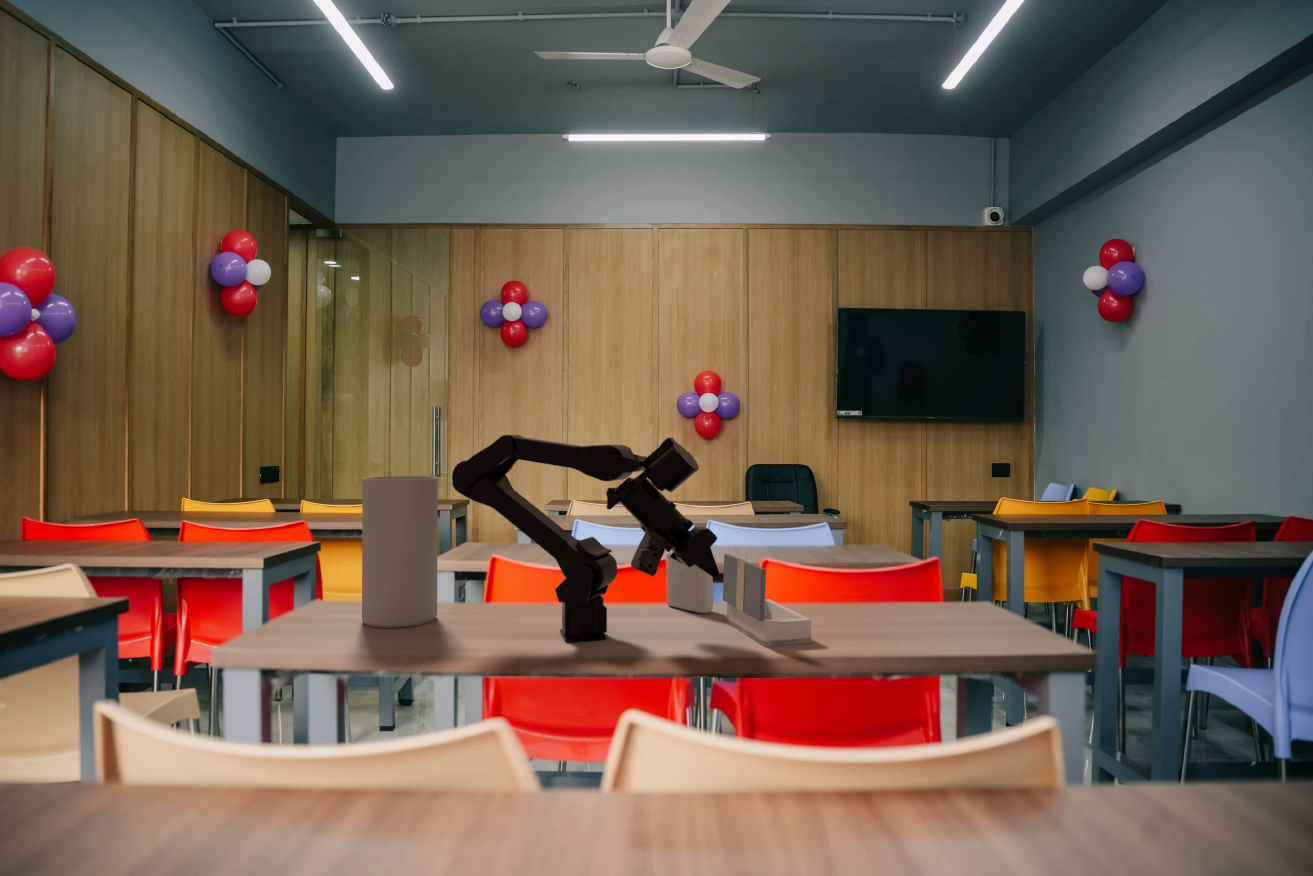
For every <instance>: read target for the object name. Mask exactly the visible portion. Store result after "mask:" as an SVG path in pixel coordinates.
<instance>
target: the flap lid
mask: <svg viewBox="0 0 1313 876" xmlns="http://www.w3.org/2000/svg"><path fill="white" fill-rule="evenodd" d="M766 576H767V569H766V568H764V567H762V566H760V565H757V564H754V563H752V562H749V561H747V560H744V559H742V558H739V557H737V556H735V555H732V554H729V553H724V557H723V580H722V581H723V582H722V583H723V585H722V601H723V602H725V603H726V604H727V603H729V604H730V605H732V606H734V607H736V608H737V609H738V610H740V611H742V612H744V613H746V614H748V615H750V616H751V617H753V618H755V619H756V620H758V621H764V612H765V600H766V581H767V580H766Z"/></svg>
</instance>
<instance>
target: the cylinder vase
mask: <svg viewBox="0 0 1313 876" xmlns="http://www.w3.org/2000/svg"><path fill="white" fill-rule="evenodd" d="M438 486H439V477H437V476H428V475H427V476H425V475H424V476H423V475H421V476H420V475H398V476H397V475H396V476H395V475H393V476H388V475H387V476H371V477H370V476H369V477H362V496H361V497H362V506H361V508H362V510H361V511H362V514H361V515H362V517H361V519H362V521H361V522H362V524H361V526H362V527H361V528H362V530H361V531H362V533H361V534H362V535H361V536H362V537H361V539H362V540H361V541H362V542H361V545H362V546H361V547H362V548H361V551H362V552H361V555H362V556H361V571H362V573H361V620H362V622H363V623H364V624H365V625H367V626H369V627H373V628H381V629H382V628H383V629H396V628H397V629H399V628H409V627H410V628H411V627H416V626H420V625H424V624H427V623H430V622H431V621H433V620H435V619H436V617H437V615H438V544H439V543H438V541H439V540H438V538H439V537H438V535H439V533H438V529H439V528H438V527H439V526H438V519H439V517H438V513H439V511H438V507H439V506H438V505H439V503H438V502H439V501H438V500H439V497H438V495H439V492H438V489H439V487H438Z"/></svg>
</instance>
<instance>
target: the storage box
mask: <svg viewBox="0 0 1313 876" xmlns="http://www.w3.org/2000/svg"><path fill="white" fill-rule="evenodd" d="M726 623H727V624H729V625H730V626H732V627H734V628H735V629H736V630H738V631H740V632H741V633H743V634H744V635H746V636H747V637H749V638H750V639H752V640H753V641H755V642H756V643H758V644H760V645H762V646H763V647H773V646H786V645H796V644H797V645H798V644H799V645H800V644H811V643H812V619H810V618H809V617H806V616H804V615H802V614H800V613H798V612H797V611H794V610H792V609H790V608H788V607H786V606H784V605H782V604H779V603H778V602H776V601H774V600H772V599H768V598H767V599H766V598H765V612H764V621H758V620H756V619H755V618H753V617H751V616H750V615H748V614H746V613H744V612H742V611H740V610H738V609H737V608H736V607H734V606H732V605H730V604H729V603H727V602H726Z"/></svg>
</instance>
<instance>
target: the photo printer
mask: <svg viewBox="0 0 1313 876" xmlns="http://www.w3.org/2000/svg"><path fill="white" fill-rule="evenodd" d="M672 553H673V552H672V551H671V550H670V551H669V552H667V551H666V557H665V558H666V561H665V562H666V566H665V567H666V605H667V606H669V607H674V608H678V609H682V610H685V611H690V612H694V613H697V614H708V613H711V612H712V611H713V608H714V590H713V589H714V580H713V579H714V578H713V577H712V576H710V575H709V574H707V573H706V572H704V571H703V570H701V569H700V568H698V567H697V566H695V565H693V566H692V567H690V568H689V567H688V566H686V565H684V564H682V563H680V562H678V561H677V560H674V559H672V558H671V557H670V556H671V554H672Z"/></svg>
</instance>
